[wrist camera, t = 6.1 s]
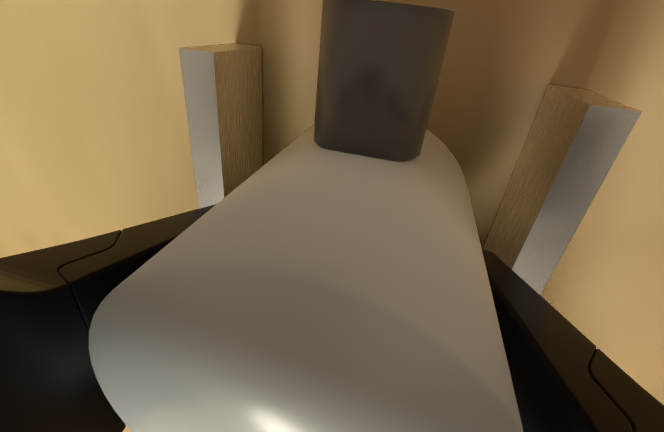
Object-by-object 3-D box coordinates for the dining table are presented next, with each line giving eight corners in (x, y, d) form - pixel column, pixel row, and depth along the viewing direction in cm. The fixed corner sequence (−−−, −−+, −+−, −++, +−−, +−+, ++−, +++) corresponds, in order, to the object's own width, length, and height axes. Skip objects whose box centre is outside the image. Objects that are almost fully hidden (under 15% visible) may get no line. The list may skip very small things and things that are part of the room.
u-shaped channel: (685, 102, 9) (1381, 308, 2) (484, 431, 18) (517, 677, 11) (234, 43, 11) (-46, 66, 5) (249, 361, 20) (157, 530, 13)
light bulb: (536, 26, 7) (981, 20, 1) (439, 302, 12) (448, 593, 6) (278, -2, 8) (-94, -71, 2) (275, 262, 13) (136, 472, 7)
